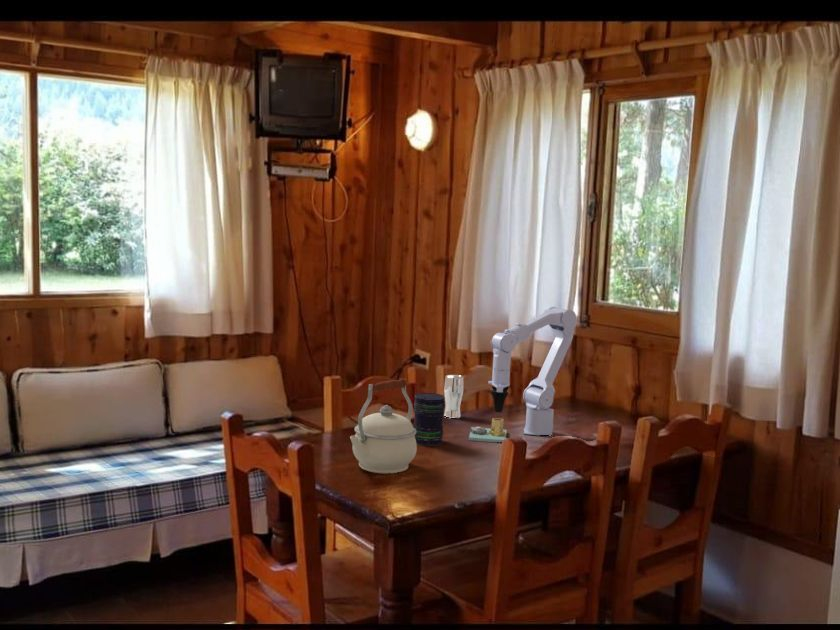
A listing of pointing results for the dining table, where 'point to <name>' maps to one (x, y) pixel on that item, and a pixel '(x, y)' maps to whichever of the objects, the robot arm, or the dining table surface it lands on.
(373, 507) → the dining table surface
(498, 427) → the planet gear
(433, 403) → the storage jar
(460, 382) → the beer glass
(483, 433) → the carrier plate
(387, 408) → the kettle
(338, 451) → the dining table surface
